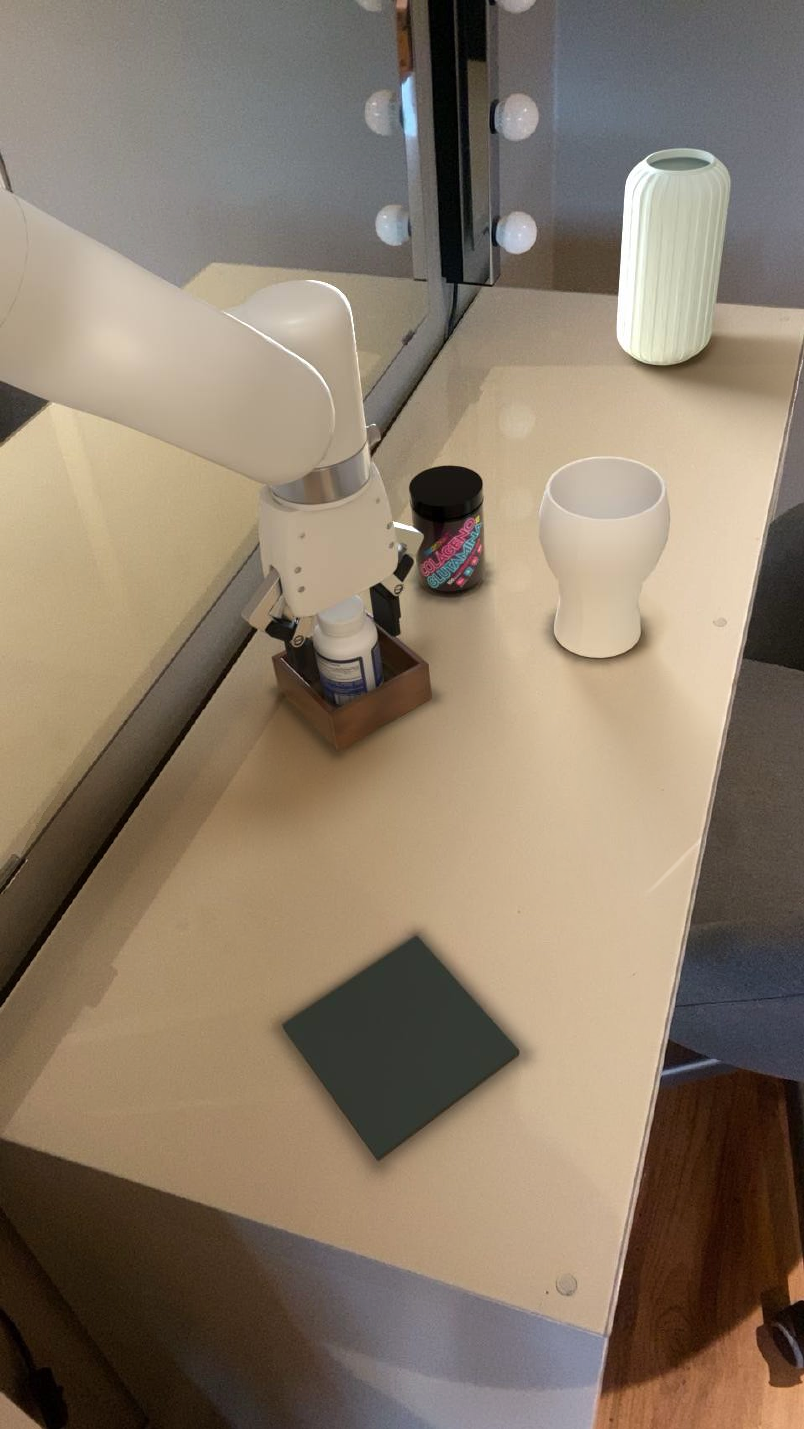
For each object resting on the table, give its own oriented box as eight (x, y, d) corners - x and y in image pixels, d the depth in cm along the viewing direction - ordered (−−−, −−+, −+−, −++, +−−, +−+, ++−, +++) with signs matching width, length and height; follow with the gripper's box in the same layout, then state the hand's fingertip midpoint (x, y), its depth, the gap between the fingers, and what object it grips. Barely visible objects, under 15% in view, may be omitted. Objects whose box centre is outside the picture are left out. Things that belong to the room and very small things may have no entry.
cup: (681, 625, 94) (700, 481, 84) (607, 687, 89) (618, 541, 79) (587, 579, 100) (594, 438, 89) (513, 635, 95) (511, 493, 85)
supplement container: (405, 590, 101) (395, 497, 94) (435, 551, 105) (428, 459, 98) (468, 606, 99) (464, 512, 91) (497, 565, 103) (495, 472, 95)
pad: (377, 1161, 62) (376, 1157, 62) (282, 1028, 69) (281, 1024, 69) (519, 1054, 66) (519, 1050, 66) (417, 938, 73) (416, 934, 73)
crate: (338, 751, 87) (332, 717, 84) (278, 690, 92) (270, 656, 90) (432, 698, 90) (429, 663, 87) (368, 642, 96) (364, 608, 93)
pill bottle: (356, 665, 94) (342, 578, 87) (398, 691, 91) (387, 604, 84) (311, 696, 92) (293, 609, 85) (352, 725, 89) (337, 637, 82)
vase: (718, 336, 133) (743, 145, 117) (697, 378, 126) (721, 180, 110) (629, 326, 137) (642, 140, 121) (604, 366, 130) (614, 174, 114)
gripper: (386, 404, 81) (405, 585, 93) (186, 489, 74) (235, 672, 87) (445, 440, 76) (456, 626, 89) (238, 535, 70) (281, 721, 82)
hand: (347, 648), depth 88 cm, fingers open, 7 cm apart
